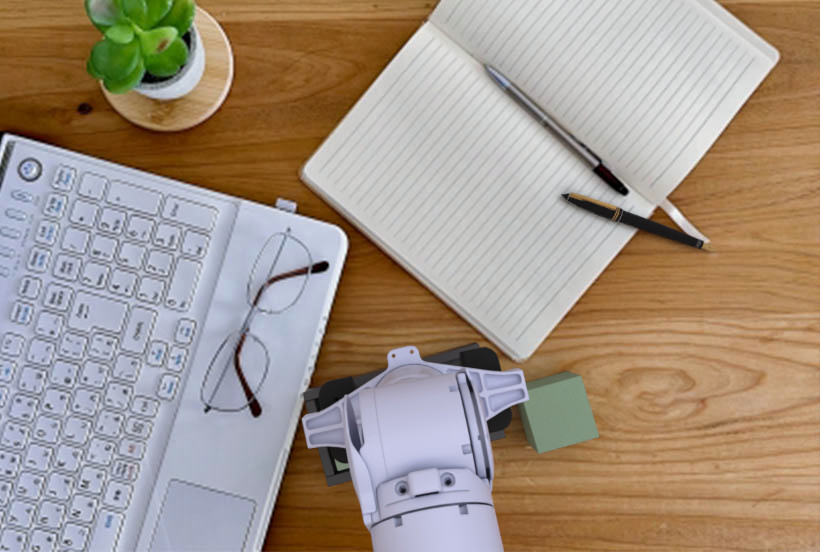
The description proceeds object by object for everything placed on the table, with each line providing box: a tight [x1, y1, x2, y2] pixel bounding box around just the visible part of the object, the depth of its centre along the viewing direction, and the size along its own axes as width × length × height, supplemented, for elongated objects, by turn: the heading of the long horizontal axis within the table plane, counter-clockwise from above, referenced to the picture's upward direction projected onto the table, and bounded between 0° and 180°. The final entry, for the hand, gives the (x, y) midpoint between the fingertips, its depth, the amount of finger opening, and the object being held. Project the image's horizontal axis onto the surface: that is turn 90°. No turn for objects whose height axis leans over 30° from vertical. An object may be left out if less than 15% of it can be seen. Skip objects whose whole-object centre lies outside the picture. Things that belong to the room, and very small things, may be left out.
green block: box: [516, 370, 600, 455], centre depth 67 cm, size 5×5×6 cm
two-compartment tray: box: [302, 341, 507, 488], centre depth 68 cm, size 8×15×6 cm, turn 106°
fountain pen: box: [560, 192, 721, 252], centre depth 70 cm, size 14×1×2 cm, turn 69°
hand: (413, 395), depth 61 cm, fingers open, 7 cm apart
